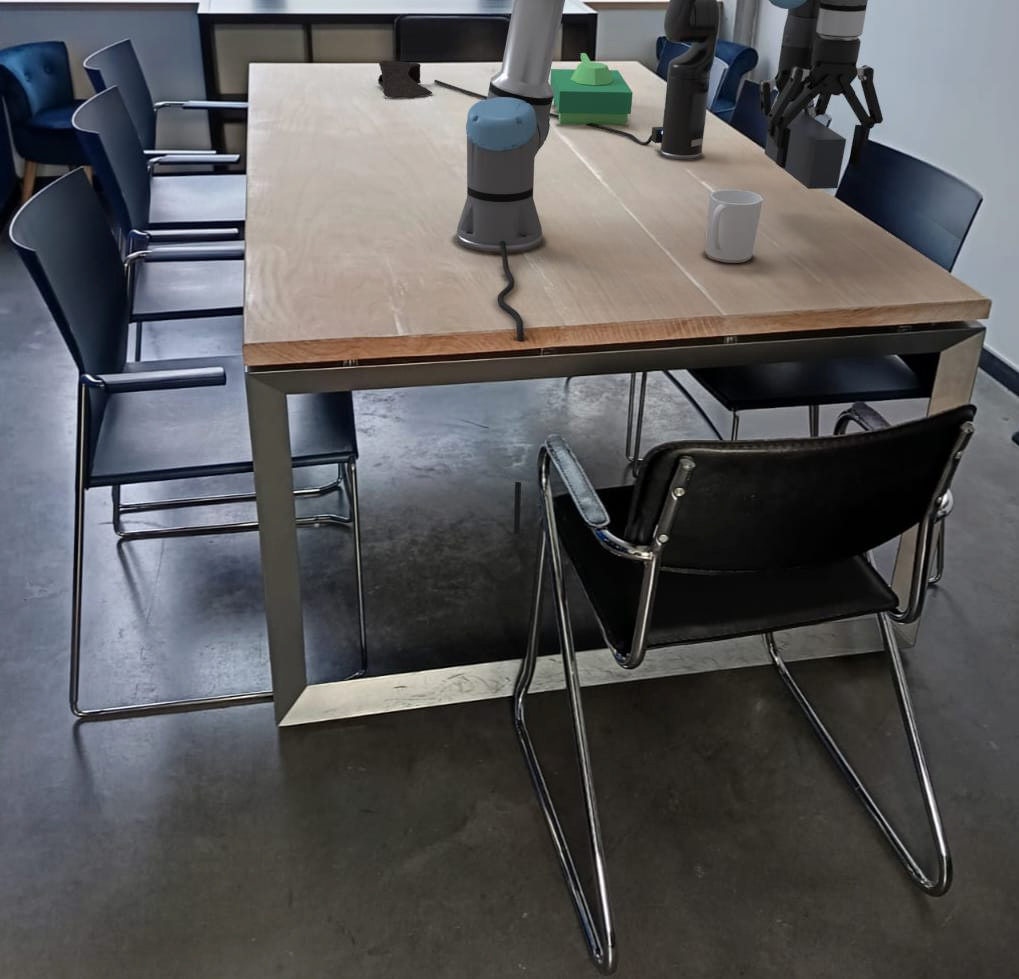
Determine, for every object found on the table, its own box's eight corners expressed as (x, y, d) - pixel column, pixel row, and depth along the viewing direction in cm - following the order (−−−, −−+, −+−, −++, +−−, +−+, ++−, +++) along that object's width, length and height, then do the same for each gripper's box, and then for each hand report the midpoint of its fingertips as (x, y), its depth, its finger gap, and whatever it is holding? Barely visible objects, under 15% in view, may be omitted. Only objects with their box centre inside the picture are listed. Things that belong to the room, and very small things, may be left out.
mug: (719, 243, 196) (726, 186, 191) (763, 254, 192) (772, 196, 186) (686, 258, 189) (693, 199, 184) (732, 271, 184) (740, 210, 179)
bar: (837, 188, 191) (846, 139, 187) (808, 189, 191) (816, 139, 186) (791, 153, 211) (798, 108, 206) (764, 153, 210) (770, 108, 205)
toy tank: (615, 49, 292) (633, 76, 262) (611, 97, 298) (629, 128, 269) (549, 48, 291) (560, 74, 261) (547, 96, 297) (558, 127, 268)
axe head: (443, 87, 294) (392, 77, 287) (436, 115, 299) (385, 106, 292) (421, 62, 307) (371, 52, 300) (414, 89, 311) (365, 80, 304)
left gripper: (899, 32, 187) (875, 157, 198) (758, 32, 183) (742, 160, 194) (919, 39, 180) (893, 169, 191) (774, 40, 177) (756, 172, 188)
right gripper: (833, 38, 200) (817, 132, 209) (758, 38, 198) (745, 133, 207) (849, 45, 193) (832, 143, 202) (772, 46, 192) (758, 144, 201)
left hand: (817, 165), depth 193 cm, fingers open, 13 cm apart
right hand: (788, 137), depth 205 cm, fingers closed on bar, 5 cm apart
